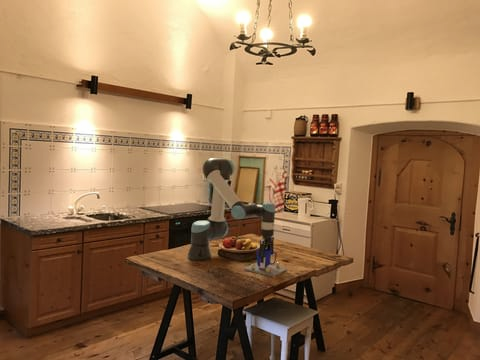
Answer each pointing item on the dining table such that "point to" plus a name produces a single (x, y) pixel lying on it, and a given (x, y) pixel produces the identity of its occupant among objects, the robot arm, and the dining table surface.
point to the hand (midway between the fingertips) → (265, 266)
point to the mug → (267, 257)
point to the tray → (272, 270)
